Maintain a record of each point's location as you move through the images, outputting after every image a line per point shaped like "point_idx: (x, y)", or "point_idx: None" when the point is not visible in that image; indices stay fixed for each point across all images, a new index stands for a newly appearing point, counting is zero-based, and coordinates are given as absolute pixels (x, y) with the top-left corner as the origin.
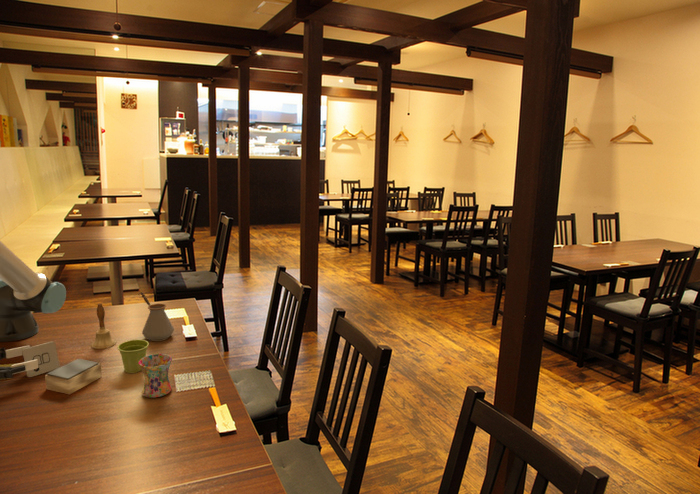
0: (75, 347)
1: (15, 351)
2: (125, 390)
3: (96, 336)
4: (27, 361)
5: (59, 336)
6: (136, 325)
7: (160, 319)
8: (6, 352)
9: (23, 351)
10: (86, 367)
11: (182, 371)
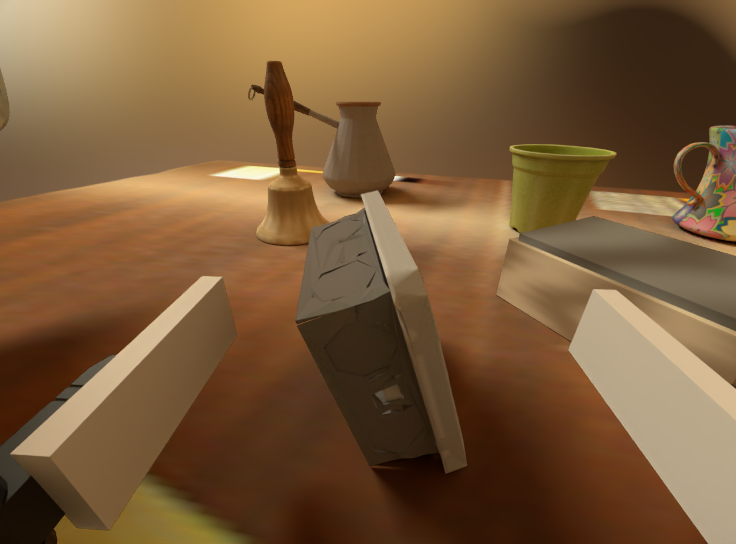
0: (232, 265)
1: (156, 382)
2: None
3: (288, 202)
4: (645, 338)
5: (51, 272)
6: (245, 193)
7: (381, 134)
8: (72, 468)
9: (426, 294)
10: (647, 234)
11: None
